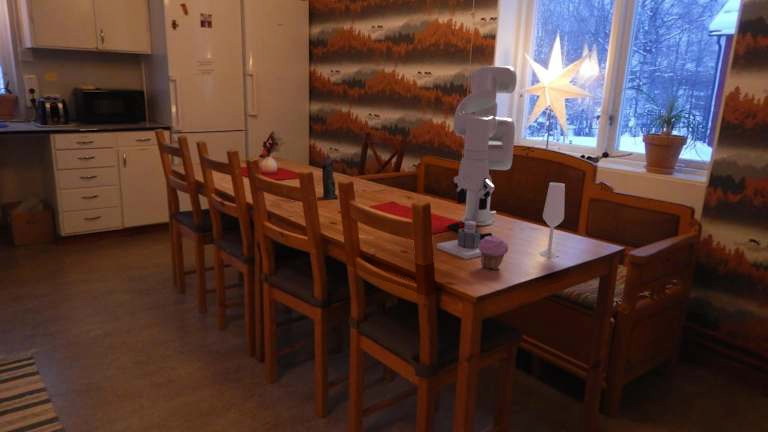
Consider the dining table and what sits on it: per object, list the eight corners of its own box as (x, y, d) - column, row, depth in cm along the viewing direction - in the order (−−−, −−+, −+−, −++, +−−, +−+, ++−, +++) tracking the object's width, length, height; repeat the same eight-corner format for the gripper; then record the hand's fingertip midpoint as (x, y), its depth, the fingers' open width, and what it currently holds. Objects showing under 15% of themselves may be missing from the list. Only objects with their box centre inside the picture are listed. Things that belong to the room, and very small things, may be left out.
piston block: (469, 241, 191) (471, 215, 189) (499, 251, 181) (502, 224, 178) (436, 247, 182) (438, 220, 180) (466, 259, 171) (468, 230, 169)
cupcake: (472, 268, 163) (474, 236, 161) (483, 261, 170) (486, 230, 168) (499, 274, 158) (502, 242, 156) (510, 267, 165) (513, 235, 163)
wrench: (457, 231, 211) (504, 248, 184) (446, 233, 209) (492, 250, 182) (457, 218, 210) (504, 233, 183) (446, 220, 208) (492, 235, 181)
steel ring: (468, 241, 186) (469, 227, 185) (483, 246, 180) (485, 232, 179) (453, 244, 181) (454, 230, 180) (468, 249, 176) (469, 235, 175)
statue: (339, 198, 253) (340, 156, 248) (328, 200, 248) (328, 157, 243) (330, 196, 258) (330, 154, 253) (318, 198, 253) (318, 155, 248)
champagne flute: (534, 253, 180) (542, 183, 174) (546, 250, 184) (554, 181, 178) (551, 258, 175) (559, 186, 169) (563, 255, 179) (572, 184, 173)
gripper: (448, 152, 178) (445, 202, 183) (487, 160, 165) (483, 213, 169) (464, 150, 182) (461, 199, 187) (504, 158, 169) (499, 210, 174)
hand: (471, 206), depth 178 cm, fingers open, 9 cm apart
